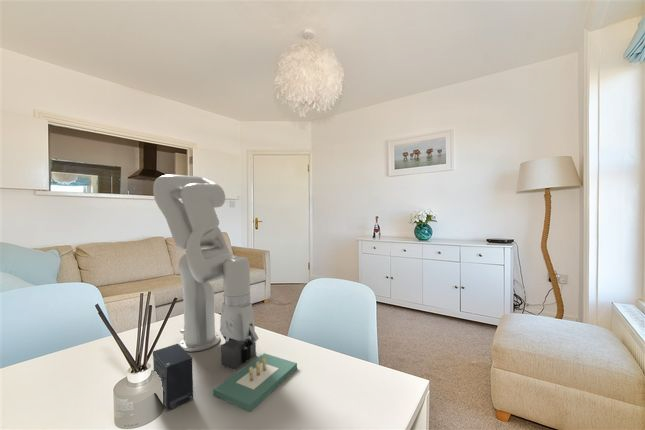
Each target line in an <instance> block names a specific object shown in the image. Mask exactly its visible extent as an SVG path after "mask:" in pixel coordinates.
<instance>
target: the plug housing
mask: <svg viewBox="0 0 645 430" xmlns="http://www.w3.org/2000/svg"><path fill="white" fill-rule="evenodd" d="M250 337H251V336H250ZM245 341H246V343H247V339H246V340H245ZM256 345H257V341H256V342H254V344H253V345H252V346H251V358H250V359H249V360H248V361H250V360H252V358H254V357H256V355H257V348H256V347H257V346H256ZM242 349H243V347H242V342H241V341H238V340H234V339H231V340H230V341H228V342H226V343H225V342H224V343H222V344H220V364H221V365H220V366H221V367H224V368H227V369H230V370H232V371H236V370H237V369H238V368H239V367H241V366H242V365H245V364H246V363H247V362H248V361H246V362H245V363H242Z"/></svg>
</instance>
